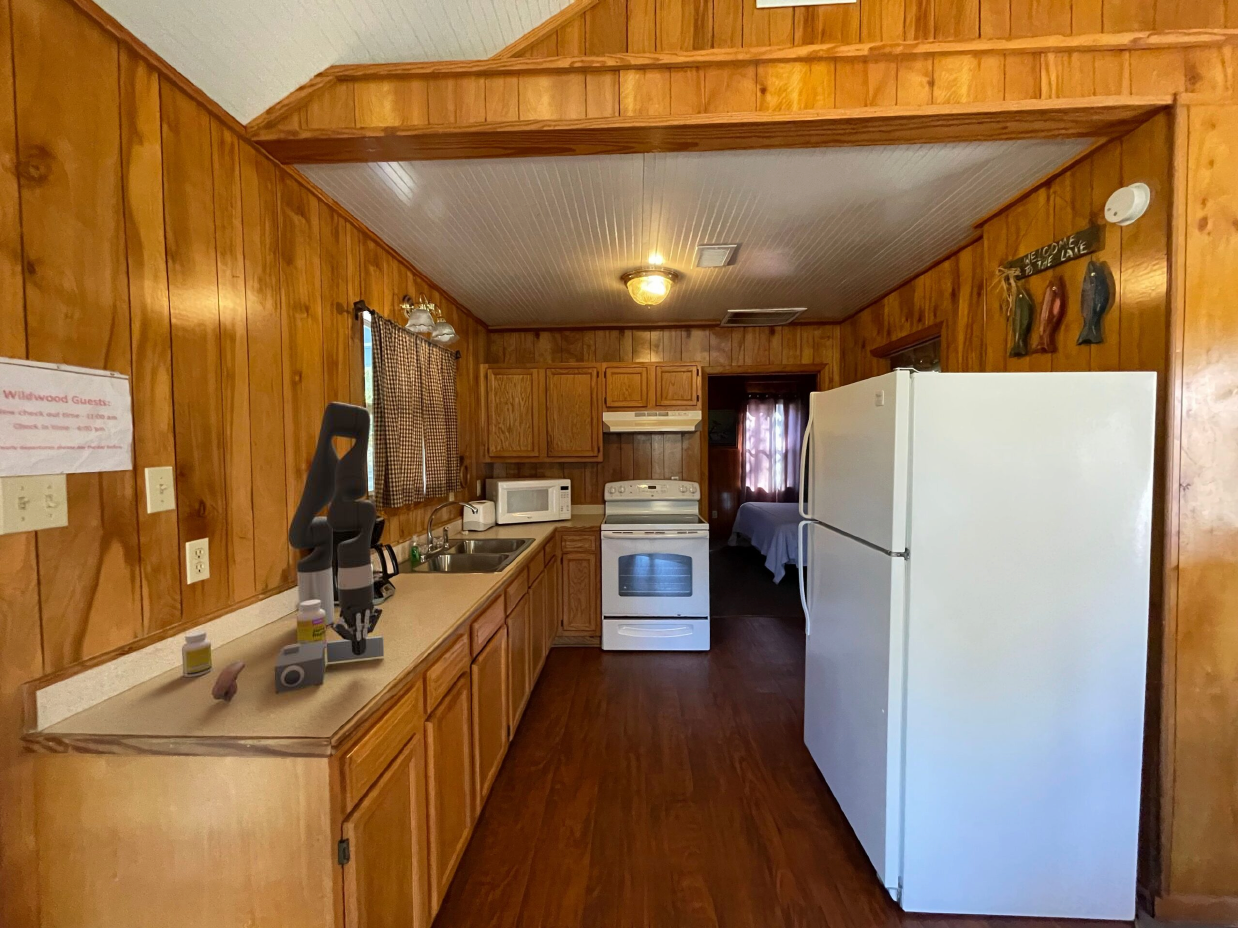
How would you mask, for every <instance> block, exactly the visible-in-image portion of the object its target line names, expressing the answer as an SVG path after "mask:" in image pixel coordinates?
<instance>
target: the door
mask: <svg viewBox="0 0 1238 928" xmlns="http://www.w3.org/2000/svg"><path fill="white" fill-rule="evenodd" d="M384 647H385V646H384V636H383V635H382V636H381V635H380V636H372V637H366V650H365V653H363V654H361V655H359V656H358V655H354V653H353V652H352V642H351V641H350V640H345V639H343V640H332V641H326V658H327V660H326V662H327V663H329V664H330V663H336V662H345V661H354V660H362V659H371V658H373V659H374V658H381V657H384V656H385V651H384Z"/></svg>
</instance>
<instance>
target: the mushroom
mask: <svg viewBox="0 0 1238 928" xmlns="http://www.w3.org/2000/svg"><path fill="white" fill-rule="evenodd" d="M245 667H246V664H245V662H243V661H241V660H240V661H234V662H232V663H230V664H228V665H227V666H226V667H225V668H224V669H223V670H222V671H221V672H220V674H219V675H218V677H217V679H216V681H215V684H214V685H213V687H212V692H211V695H212V697H213V699H215V701H216V700H217V701H220V700H222V701H224V702H225V703H227V704H228V703H230V702H231V701H232V699H233V698H234V696H235V695H236V693H237V690H238V688H239V687H238V682H236V680H237V677H238V676H239V675H240V673H241V672H242V671H243V669H245Z"/></svg>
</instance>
